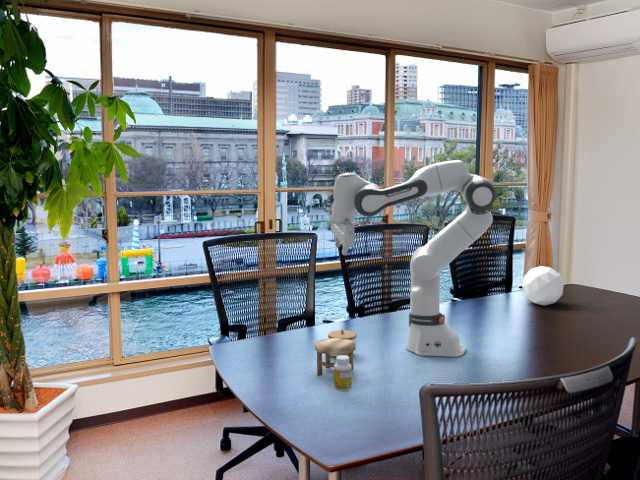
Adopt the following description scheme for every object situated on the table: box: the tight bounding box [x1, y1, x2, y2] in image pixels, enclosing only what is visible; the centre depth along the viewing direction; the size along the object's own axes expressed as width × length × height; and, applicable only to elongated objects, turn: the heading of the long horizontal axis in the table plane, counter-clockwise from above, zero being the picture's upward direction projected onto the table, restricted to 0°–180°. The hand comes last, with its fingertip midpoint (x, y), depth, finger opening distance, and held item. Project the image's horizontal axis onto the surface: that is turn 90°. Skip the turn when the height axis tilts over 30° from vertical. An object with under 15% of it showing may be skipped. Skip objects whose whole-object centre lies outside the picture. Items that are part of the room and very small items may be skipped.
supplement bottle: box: [333, 355, 353, 392], centre depth 194 cm, size 6×6×10 cm
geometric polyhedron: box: [522, 265, 565, 307], centre depth 303 cm, size 19×20×20 cm
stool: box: [314, 338, 357, 377], centre depth 209 cm, size 14×14×10 cm
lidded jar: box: [327, 328, 358, 356], centre depth 229 cm, size 11×11×9 cm
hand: (340, 250), depth 232 cm, fingers open, 8 cm apart
